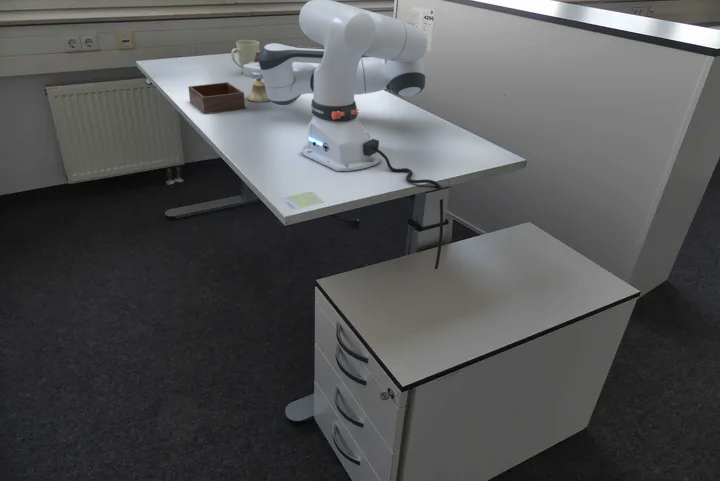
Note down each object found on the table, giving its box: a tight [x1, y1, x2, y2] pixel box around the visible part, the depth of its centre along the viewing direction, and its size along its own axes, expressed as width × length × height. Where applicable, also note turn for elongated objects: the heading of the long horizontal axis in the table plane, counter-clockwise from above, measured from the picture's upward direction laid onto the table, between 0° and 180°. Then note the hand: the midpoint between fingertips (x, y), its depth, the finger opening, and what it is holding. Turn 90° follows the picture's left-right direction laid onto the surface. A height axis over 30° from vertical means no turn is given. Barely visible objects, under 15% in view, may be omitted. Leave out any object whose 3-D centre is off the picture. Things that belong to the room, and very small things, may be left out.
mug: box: [230, 39, 260, 72], centre depth 222 cm, size 11×10×12 cm
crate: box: [188, 81, 246, 115], centre depth 187 cm, size 14×14×5 cm
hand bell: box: [247, 51, 271, 103], centre depth 193 cm, size 8×8×16 cm
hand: (256, 62), depth 191 cm, fingers open, 4 cm apart
